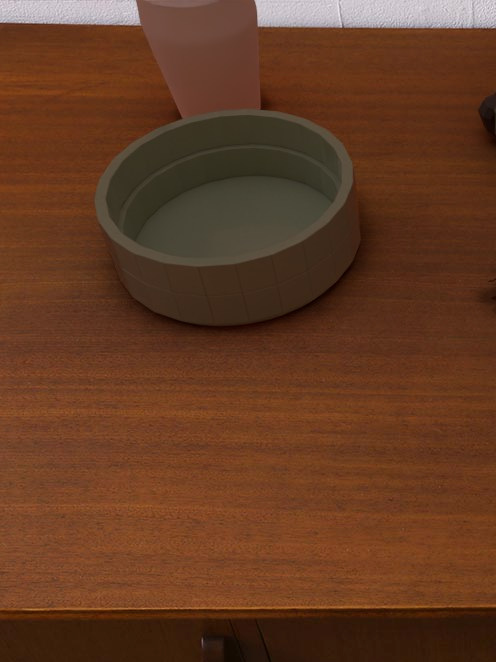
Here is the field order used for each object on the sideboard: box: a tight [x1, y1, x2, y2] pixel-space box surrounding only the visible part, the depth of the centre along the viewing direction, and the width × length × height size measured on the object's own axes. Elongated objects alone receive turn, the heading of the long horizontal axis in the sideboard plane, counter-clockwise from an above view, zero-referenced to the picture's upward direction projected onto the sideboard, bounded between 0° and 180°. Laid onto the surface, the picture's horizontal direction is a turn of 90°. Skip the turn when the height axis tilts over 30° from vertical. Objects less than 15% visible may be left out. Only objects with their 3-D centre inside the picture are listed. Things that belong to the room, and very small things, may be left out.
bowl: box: [93, 109, 362, 327], centre depth 72 cm, size 18×18×6 cm
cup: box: [135, 0, 262, 119], centre depth 82 cm, size 9×9×12 cm
